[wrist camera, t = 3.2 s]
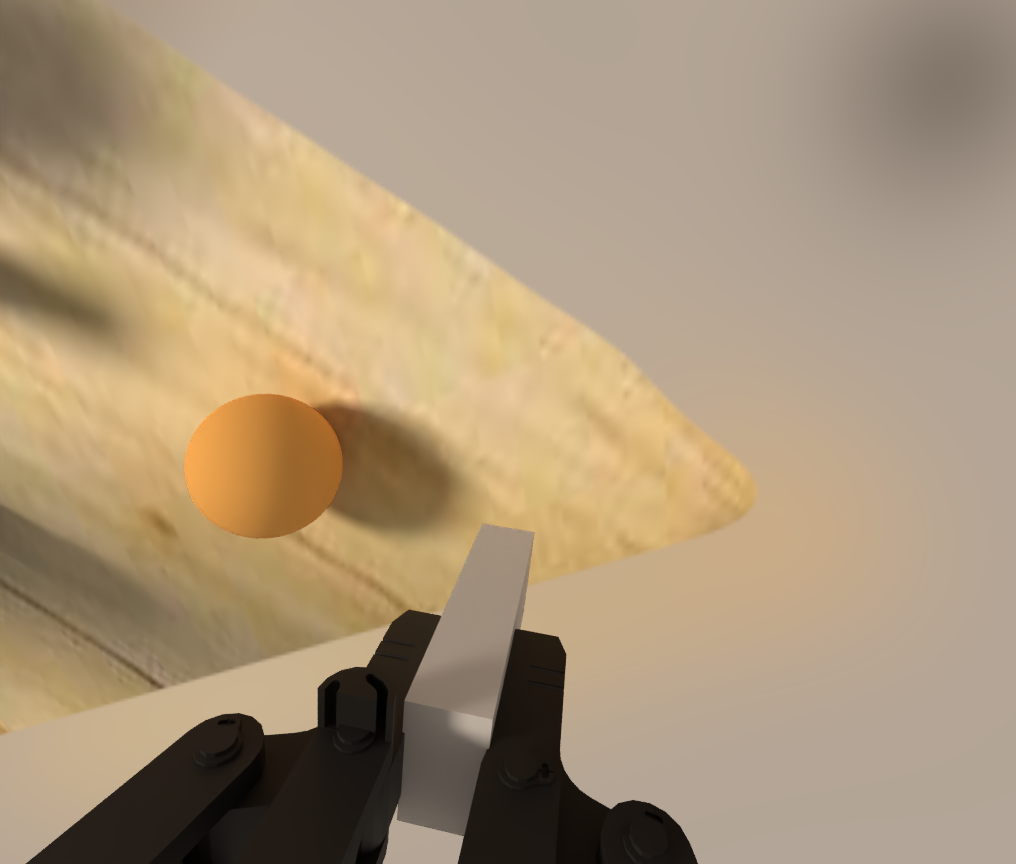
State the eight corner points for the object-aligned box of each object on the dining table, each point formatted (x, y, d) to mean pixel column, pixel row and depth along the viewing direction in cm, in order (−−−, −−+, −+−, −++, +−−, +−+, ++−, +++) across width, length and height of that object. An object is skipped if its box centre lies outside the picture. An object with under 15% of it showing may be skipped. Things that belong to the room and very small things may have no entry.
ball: (247, 491, 24) (153, 552, 19) (242, 373, 22) (138, 403, 17) (363, 510, 23) (299, 578, 18) (366, 390, 22) (298, 427, 17)
